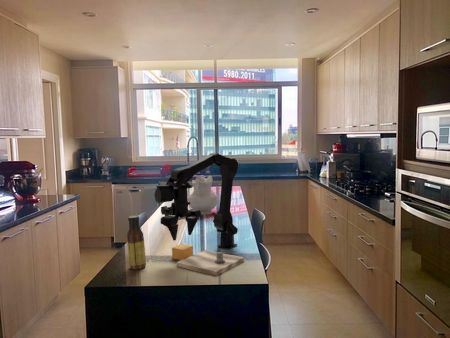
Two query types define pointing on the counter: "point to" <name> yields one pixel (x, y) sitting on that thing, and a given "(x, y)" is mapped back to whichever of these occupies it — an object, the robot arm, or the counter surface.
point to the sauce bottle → (135, 244)
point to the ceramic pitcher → (203, 195)
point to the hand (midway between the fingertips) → (182, 237)
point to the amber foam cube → (182, 251)
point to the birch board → (210, 262)
